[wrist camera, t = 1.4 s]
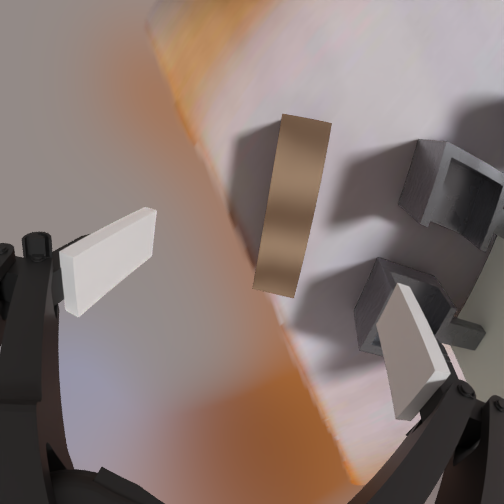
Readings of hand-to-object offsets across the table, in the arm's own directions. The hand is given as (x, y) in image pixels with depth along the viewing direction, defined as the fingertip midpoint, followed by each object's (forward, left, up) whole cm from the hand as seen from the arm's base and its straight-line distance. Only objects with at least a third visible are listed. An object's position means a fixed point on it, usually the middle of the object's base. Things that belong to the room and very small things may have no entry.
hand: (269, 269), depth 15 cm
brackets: (0, +17, -16) cm, 23 cm away
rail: (0, 0, -16) cm, 16 cm away
